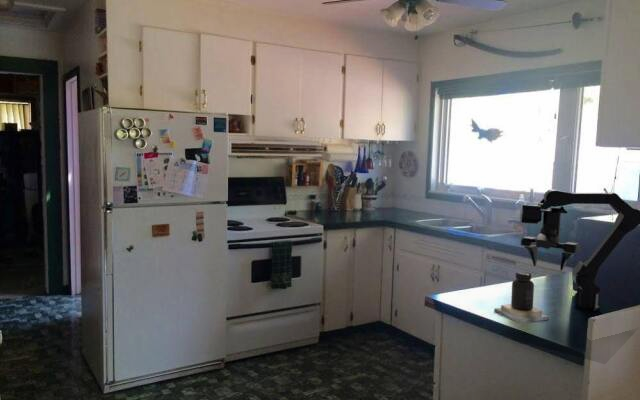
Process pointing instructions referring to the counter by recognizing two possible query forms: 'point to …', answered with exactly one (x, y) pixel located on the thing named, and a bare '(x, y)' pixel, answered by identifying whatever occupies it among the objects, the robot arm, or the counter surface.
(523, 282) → the supplement bottle
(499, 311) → the build base
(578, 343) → the counter surface
